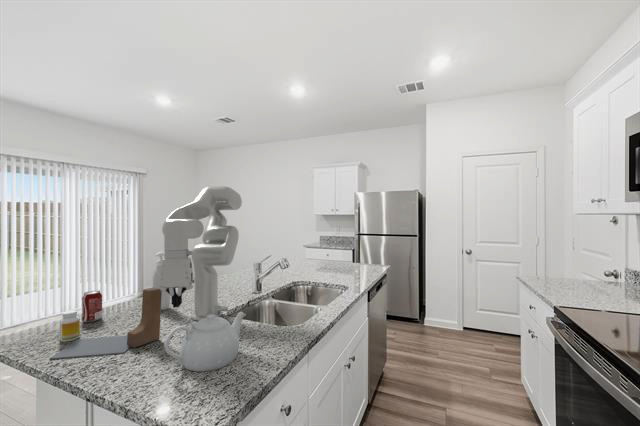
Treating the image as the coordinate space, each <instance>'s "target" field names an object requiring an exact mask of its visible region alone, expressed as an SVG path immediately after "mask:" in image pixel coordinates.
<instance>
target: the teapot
mask: <svg viewBox="0 0 640 426" xmlns="http://www.w3.org/2000/svg"><path fill="white" fill-rule="evenodd" d="M245 316H247V314H246V313H244V312H243V311H240V312H238V313H237V315H236V317H235V318H234V320H233V322H232V324H231V323H230V321H228V320H227V319H225V318H224V317H221V316H219V317H215V315H214V314H210V315H208V316H207V318H204V319H201V320H199V321H196V322H195V323H193V324H192V325H191V327H190V328H188V327H187V326H185V325H178V326H176V327H174V328H172V329H171V331H170V332H168V334H167V336H166V338H165V340H164V350H165V352H166V353H167V354H168V356H170V357H172V358H175V359H177V362H178V364H179V365H182V366H183V367H184V368H185V369H187V370H189V371H191V372H192V371H193V372H210V371H215V370H218V369H222V368H223V367H227V365H230V364H231V363H232V362H233V361H234V360H235V359H236V357H237V356H238V354H239V349H240V333H241V326H242V320H243V318H244V317H245ZM180 330H184V331H185V333H186V334H185V335H184V337H183V339H182V341H181V343H180V347H179V354H177V353H176V352H173V351H172V350H171V349H170V348H169V344H170V341H171V338H172V337H173V335H174V334H175V333H176V332H177V331H178V332H179V331H180Z"/></svg>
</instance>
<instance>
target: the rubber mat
mask: <svg viewBox="0 0 640 426" xmlns="http://www.w3.org/2000/svg"><path fill="white" fill-rule="evenodd" d="M130 348H132V347H131V346H128V345H127V335H116V336H115V335H114V336H104V337H103V336H101V337H90V338H89V337H87V338H77V339H76V340H74V342H73V343H71V344H69V345H68V346H66V347H65V348H63V349H61V350H60V351H59V352H57V353H55V354H54V355H52V356H51V357H50V358H49V360H51V361H52V360H63V359H73V358H75V359H76V358H83V357H84V358H85V357H97V356H98V357H99V356H108V355H109V356H111V355H121V354H126V353H127V351H128V350H129V349H130Z"/></svg>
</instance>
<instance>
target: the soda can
mask: <svg viewBox="0 0 640 426" xmlns="http://www.w3.org/2000/svg"><path fill="white" fill-rule="evenodd" d="M102 318H103V294H102V293H101V291H100V289H99V290H89V291H85V292H84V293H83V296H82V297H81V320H82V321H81V322H85V323H93V322H92V321H94V322H97V320H98V321H99V320H100V319H102Z"/></svg>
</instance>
